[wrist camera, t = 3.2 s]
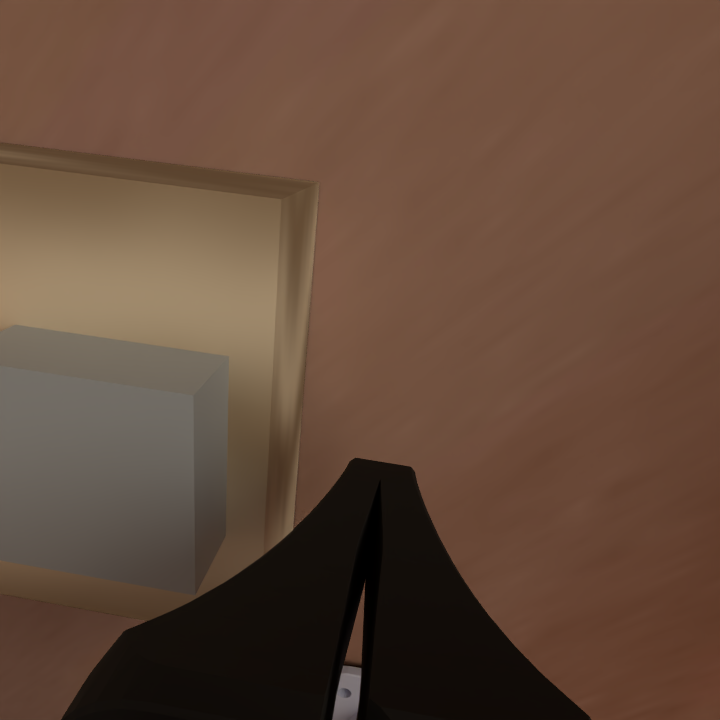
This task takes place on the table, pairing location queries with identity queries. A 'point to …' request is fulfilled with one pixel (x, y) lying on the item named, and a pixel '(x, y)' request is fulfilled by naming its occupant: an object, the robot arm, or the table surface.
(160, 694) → the robot arm
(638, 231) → the table surface
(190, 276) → the board
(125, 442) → the slate tile
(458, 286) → the table surface
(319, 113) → the table surface
